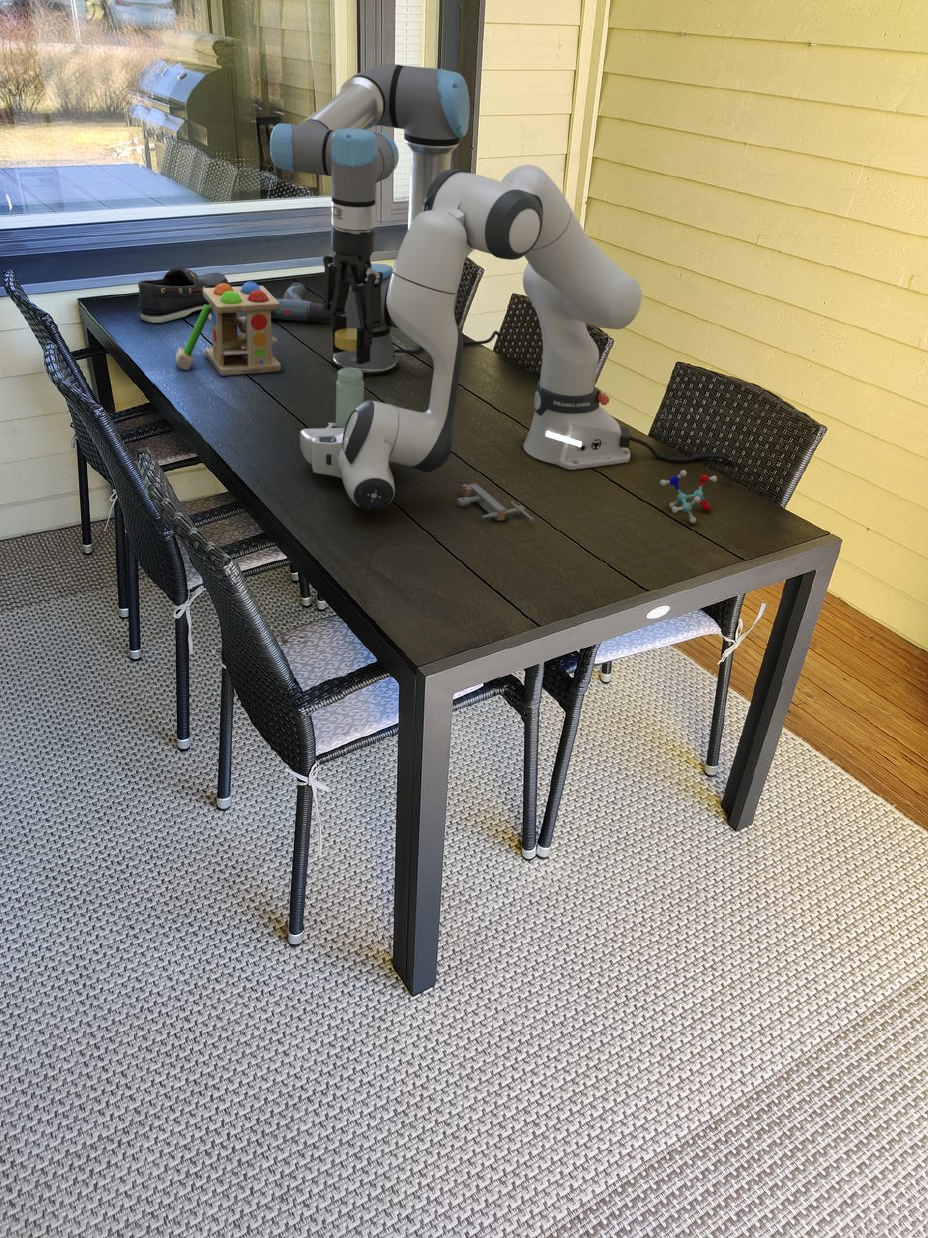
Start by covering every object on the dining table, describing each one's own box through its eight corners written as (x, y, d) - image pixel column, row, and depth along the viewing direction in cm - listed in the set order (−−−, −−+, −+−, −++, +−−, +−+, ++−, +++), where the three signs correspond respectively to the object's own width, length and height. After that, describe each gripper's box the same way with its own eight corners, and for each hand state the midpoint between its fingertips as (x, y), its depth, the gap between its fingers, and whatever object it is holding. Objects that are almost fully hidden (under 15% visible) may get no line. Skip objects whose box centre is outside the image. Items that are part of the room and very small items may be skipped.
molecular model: (721, 517, 179) (705, 464, 177) (670, 531, 182) (655, 480, 181) (726, 508, 189) (711, 458, 188) (678, 522, 193) (663, 473, 191)
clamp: (448, 487, 182) (493, 478, 187) (447, 497, 184) (492, 489, 188) (489, 523, 172) (536, 514, 177) (488, 534, 173) (535, 524, 178)
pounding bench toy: (183, 379, 220) (176, 299, 210) (169, 357, 231) (162, 280, 221) (282, 371, 230) (280, 294, 220) (264, 350, 240) (262, 276, 230)
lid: (347, 337, 186) (348, 325, 185) (374, 344, 184) (375, 333, 183) (328, 345, 182) (328, 333, 181) (355, 353, 179) (355, 341, 178)
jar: (346, 448, 198) (348, 365, 188) (367, 456, 196) (369, 372, 186) (330, 456, 194) (330, 371, 185) (350, 464, 192) (352, 379, 182)
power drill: (344, 304, 276) (335, 327, 259) (277, 298, 275) (264, 321, 258) (344, 285, 273) (335, 306, 256) (277, 279, 272) (264, 300, 255)
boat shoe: (248, 301, 272) (246, 262, 267) (158, 325, 248) (153, 283, 243) (214, 293, 278) (211, 255, 272) (123, 315, 254) (117, 274, 248)
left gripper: (301, 218, 174) (303, 345, 187) (373, 244, 163) (370, 376, 177) (334, 213, 178) (333, 338, 192) (406, 238, 168) (400, 368, 181)
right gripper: (415, 438, 182) (401, 409, 193) (304, 441, 177) (296, 411, 188) (413, 469, 186) (399, 439, 197) (305, 473, 181) (297, 441, 192)
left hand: (351, 356), depth 184 cm, fingers closed on lid, 6 cm apart
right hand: (348, 425), depth 192 cm, fingers closed on jar, 5 cm apart
